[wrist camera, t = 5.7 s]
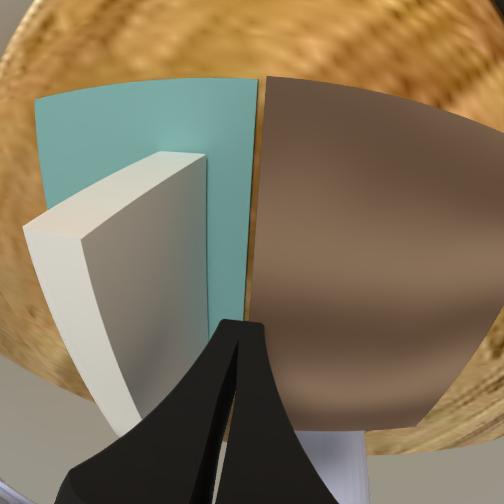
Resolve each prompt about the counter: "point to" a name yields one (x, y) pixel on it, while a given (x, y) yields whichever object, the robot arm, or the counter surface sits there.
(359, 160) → the block
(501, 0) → the phone case
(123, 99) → the mat
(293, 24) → the counter surface
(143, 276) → the tile
